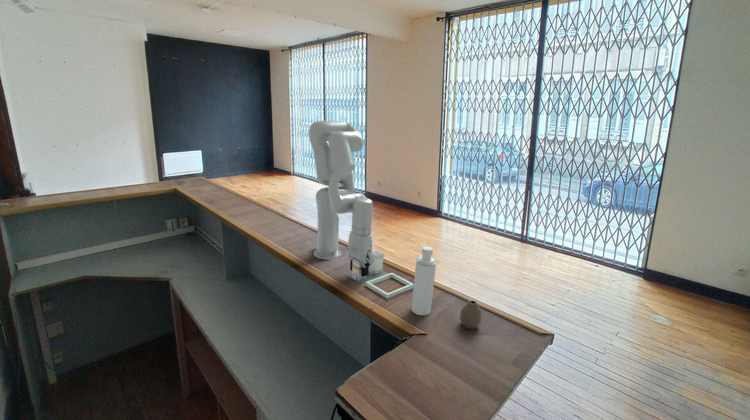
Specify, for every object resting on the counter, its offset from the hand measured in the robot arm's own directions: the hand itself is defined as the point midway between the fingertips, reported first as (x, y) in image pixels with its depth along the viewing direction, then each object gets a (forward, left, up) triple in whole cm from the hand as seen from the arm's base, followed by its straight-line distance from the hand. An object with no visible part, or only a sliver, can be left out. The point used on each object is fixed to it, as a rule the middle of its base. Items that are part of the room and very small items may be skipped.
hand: (359, 272), depth 149 cm
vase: (+46, +10, -4) cm, 47 cm away
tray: (+13, +5, -4) cm, 14 cm away
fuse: (0, +9, -2) cm, 9 cm away
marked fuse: (0, 0, -2) cm, 2 cm away
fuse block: (0, +5, -4) cm, 6 cm away
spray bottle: (+30, +4, -4) cm, 30 cm away
